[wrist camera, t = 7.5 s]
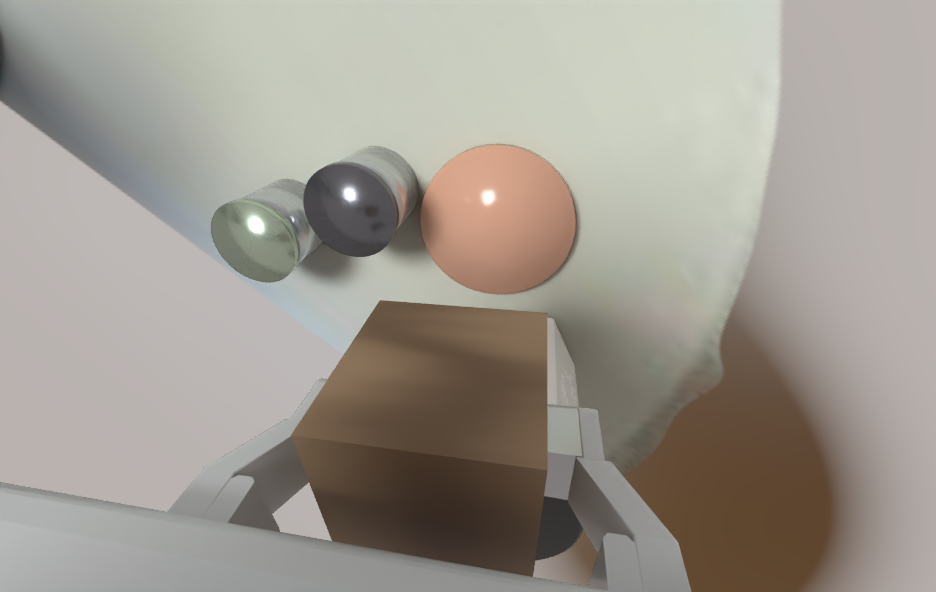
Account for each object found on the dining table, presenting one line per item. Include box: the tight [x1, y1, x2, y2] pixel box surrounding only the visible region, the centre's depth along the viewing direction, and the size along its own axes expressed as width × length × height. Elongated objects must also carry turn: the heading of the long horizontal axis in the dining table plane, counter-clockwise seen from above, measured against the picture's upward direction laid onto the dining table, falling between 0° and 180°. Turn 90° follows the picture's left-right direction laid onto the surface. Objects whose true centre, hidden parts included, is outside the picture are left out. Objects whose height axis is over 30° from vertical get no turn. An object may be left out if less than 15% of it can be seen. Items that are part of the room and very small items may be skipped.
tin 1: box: [211, 179, 323, 282], centre depth 24 cm, size 5×5×5 cm
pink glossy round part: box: [420, 144, 576, 294], centre depth 23 cm, size 9×9×1 cm
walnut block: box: [291, 300, 548, 577], centre depth 11 cm, size 5×5×5 cm
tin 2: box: [303, 146, 418, 257], centre depth 22 cm, size 5×5×5 cm
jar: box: [535, 317, 583, 560], centre depth 24 cm, size 9×8×12 cm
